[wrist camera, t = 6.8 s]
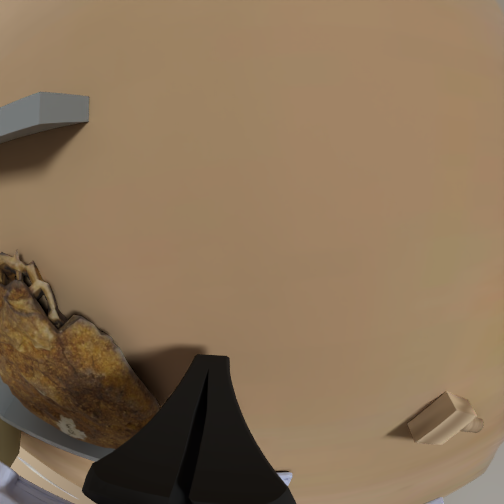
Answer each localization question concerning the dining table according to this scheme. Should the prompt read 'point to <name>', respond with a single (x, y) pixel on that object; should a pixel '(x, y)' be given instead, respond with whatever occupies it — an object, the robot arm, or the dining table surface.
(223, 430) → the robot arm
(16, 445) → the squeeze bottle
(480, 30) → the dining table surface
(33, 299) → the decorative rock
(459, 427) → the wooden mallet
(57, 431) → the grey bracket
